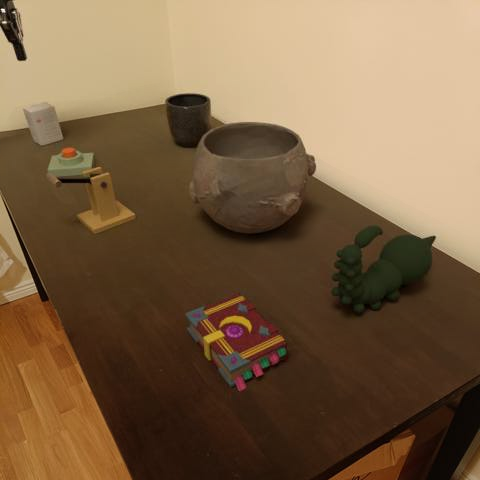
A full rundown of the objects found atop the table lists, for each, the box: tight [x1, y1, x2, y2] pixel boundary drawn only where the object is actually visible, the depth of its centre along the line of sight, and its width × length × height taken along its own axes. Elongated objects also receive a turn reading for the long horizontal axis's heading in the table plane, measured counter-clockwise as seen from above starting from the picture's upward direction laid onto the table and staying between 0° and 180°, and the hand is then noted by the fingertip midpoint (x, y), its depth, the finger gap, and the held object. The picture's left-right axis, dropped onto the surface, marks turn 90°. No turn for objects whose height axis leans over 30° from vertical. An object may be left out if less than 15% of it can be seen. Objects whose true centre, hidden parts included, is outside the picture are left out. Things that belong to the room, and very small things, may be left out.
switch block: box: [46, 150, 96, 177], centre depth 124 cm, size 12×10×4 cm
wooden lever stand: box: [76, 166, 137, 235], centre depth 101 cm, size 11×9×12 cm
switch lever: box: [45, 172, 101, 188], centre depth 95 cm, size 12×5×2 cm, turn 130°
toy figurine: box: [330, 224, 437, 314], centre depth 78 cm, size 9×19×25 cm
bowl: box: [188, 121, 317, 235], centre depth 97 cm, size 27×29×20 cm
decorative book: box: [185, 293, 289, 392], centre depth 72 cm, size 11×16×5 cm
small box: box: [22, 101, 64, 147], centre depth 137 cm, size 8×6×10 cm
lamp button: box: [61, 147, 76, 158], centre depth 123 cm, size 4×4×2 cm
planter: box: [164, 92, 212, 148], centre depth 135 cm, size 14×14×13 cm
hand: (22, 60), depth 110 cm, fingers closed
